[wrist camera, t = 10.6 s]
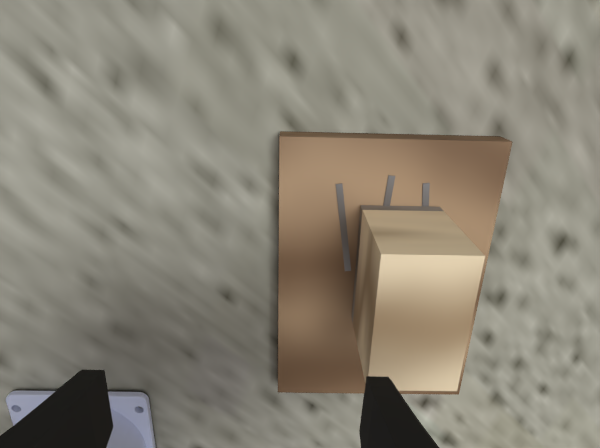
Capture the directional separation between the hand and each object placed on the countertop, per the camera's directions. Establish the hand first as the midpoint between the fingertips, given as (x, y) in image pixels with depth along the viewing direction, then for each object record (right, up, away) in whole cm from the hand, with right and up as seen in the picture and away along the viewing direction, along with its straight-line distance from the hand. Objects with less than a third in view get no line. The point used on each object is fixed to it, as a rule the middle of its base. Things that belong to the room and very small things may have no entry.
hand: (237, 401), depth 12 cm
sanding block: (+6, +3, +9) cm, 11 cm away
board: (+6, +3, +10) cm, 12 cm away
